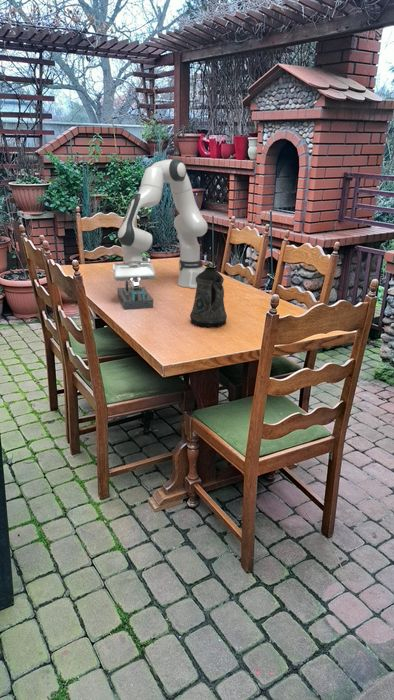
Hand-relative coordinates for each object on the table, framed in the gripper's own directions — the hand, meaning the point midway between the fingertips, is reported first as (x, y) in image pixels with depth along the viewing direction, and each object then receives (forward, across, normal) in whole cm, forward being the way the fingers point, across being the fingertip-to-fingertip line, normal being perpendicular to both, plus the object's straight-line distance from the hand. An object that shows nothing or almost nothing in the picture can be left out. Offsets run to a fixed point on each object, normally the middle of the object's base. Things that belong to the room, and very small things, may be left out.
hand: (136, 286), depth 253 cm
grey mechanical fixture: (+2, 0, +12) cm, 12 cm away
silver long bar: (-2, 0, +6) cm, 7 cm away
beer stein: (+31, +28, -17) cm, 45 cm away
